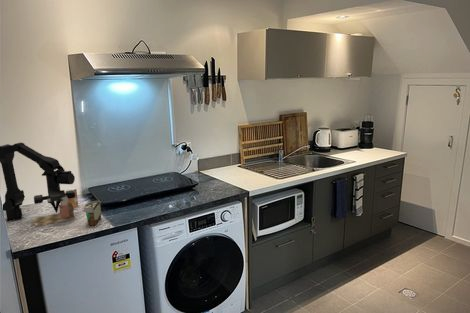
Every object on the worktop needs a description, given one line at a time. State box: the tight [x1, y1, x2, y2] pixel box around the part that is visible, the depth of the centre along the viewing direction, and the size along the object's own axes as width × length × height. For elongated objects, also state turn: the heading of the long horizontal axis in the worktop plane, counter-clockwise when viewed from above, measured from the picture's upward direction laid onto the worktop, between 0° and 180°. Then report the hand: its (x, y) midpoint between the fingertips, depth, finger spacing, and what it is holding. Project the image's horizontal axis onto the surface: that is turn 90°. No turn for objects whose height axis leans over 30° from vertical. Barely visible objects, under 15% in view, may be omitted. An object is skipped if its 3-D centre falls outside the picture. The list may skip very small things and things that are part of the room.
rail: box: [33, 202, 76, 228], centre depth 178 cm, size 18×8×7 cm, turn 122°
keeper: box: [58, 203, 70, 218], centre depth 180 cm, size 4×6×6 cm, turn 32°
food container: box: [83, 200, 102, 227], centre depth 173 cm, size 12×6×10 cm, turn 5°
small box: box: [59, 188, 79, 209], centre depth 195 cm, size 8×6×10 cm
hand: (56, 212), depth 178 cm, fingers closed
